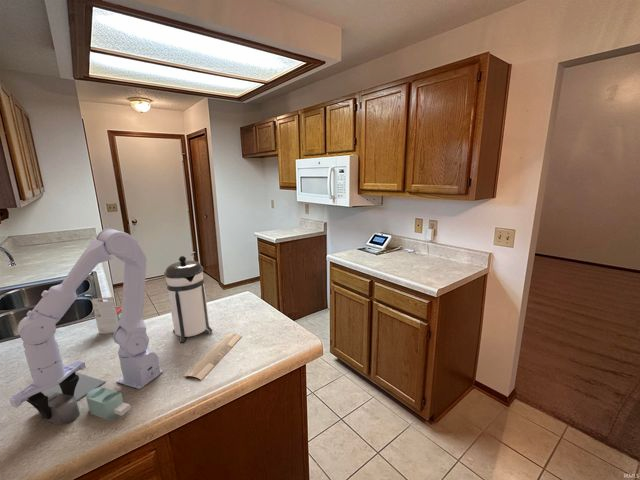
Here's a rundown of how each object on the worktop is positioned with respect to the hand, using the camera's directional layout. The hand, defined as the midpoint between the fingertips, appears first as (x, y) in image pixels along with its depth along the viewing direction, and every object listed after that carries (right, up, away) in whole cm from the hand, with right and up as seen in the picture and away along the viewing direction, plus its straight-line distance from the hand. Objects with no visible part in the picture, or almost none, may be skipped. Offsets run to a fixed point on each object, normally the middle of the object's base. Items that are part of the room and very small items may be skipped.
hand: (58, 410), depth 74 cm
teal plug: (+12, -1, +1) cm, 12 cm away
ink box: (-15, +7, +40) cm, 43 cm away
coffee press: (+17, +8, +38) cm, 42 cm away
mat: (-5, +1, +9) cm, 11 cm away
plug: (-1, -1, +1) cm, 2 cm away
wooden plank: (+32, +4, +23) cm, 40 cm away
